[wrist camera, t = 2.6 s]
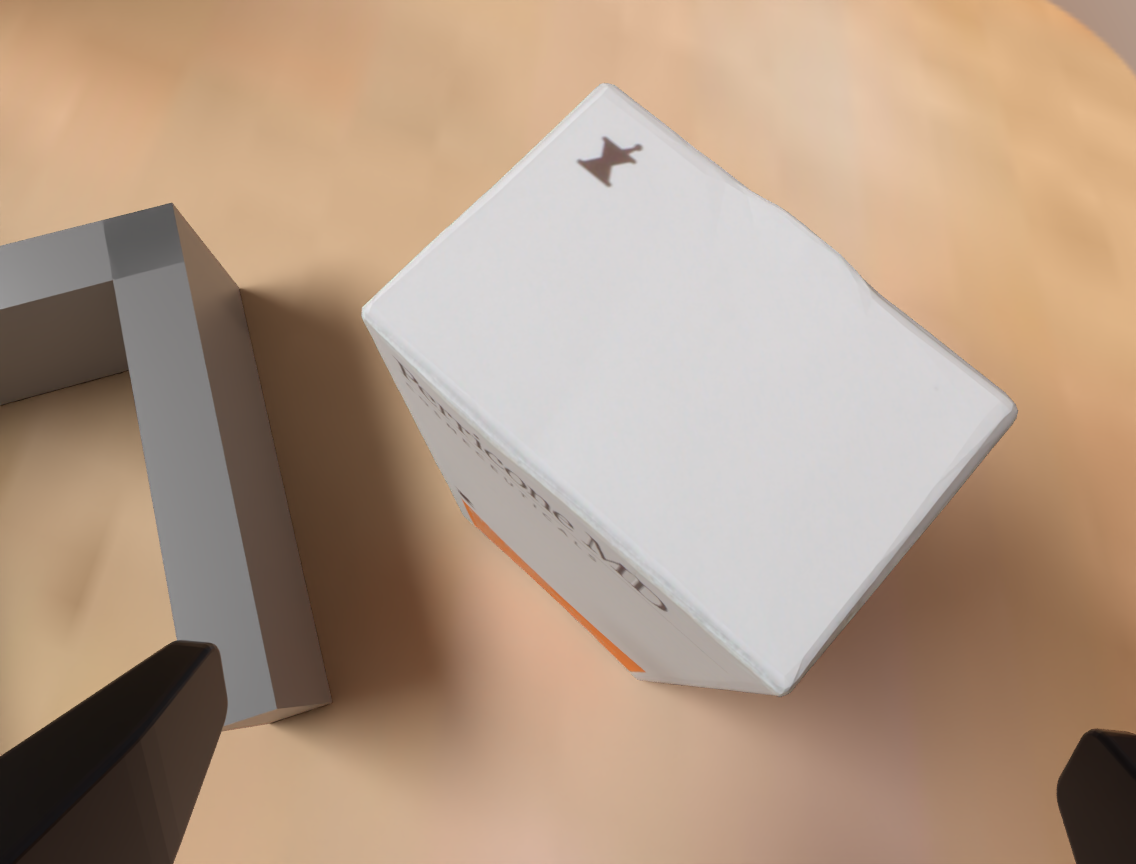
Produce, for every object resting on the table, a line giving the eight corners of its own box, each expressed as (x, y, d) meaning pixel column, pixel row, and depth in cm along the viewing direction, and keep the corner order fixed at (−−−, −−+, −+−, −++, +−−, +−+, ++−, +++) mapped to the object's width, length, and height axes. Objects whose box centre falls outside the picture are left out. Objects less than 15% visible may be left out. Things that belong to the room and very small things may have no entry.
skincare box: (456, 517, 20) (334, 299, 8) (573, 397, 21) (607, 56, 9) (642, 693, 19) (790, 715, 7) (757, 558, 20) (1044, 393, 8)
